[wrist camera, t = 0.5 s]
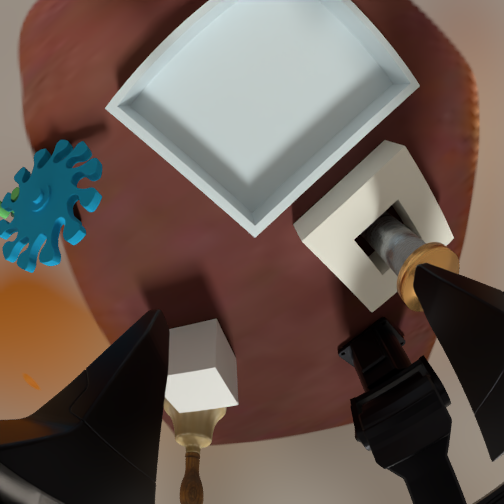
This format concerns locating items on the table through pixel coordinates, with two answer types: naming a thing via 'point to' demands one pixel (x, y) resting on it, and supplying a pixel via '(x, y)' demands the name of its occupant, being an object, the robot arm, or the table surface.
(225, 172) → the parts tray
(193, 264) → the table surface
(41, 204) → the gear
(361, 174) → the white square hole block
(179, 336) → the white cube
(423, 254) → the lock pin
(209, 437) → the hand bell
